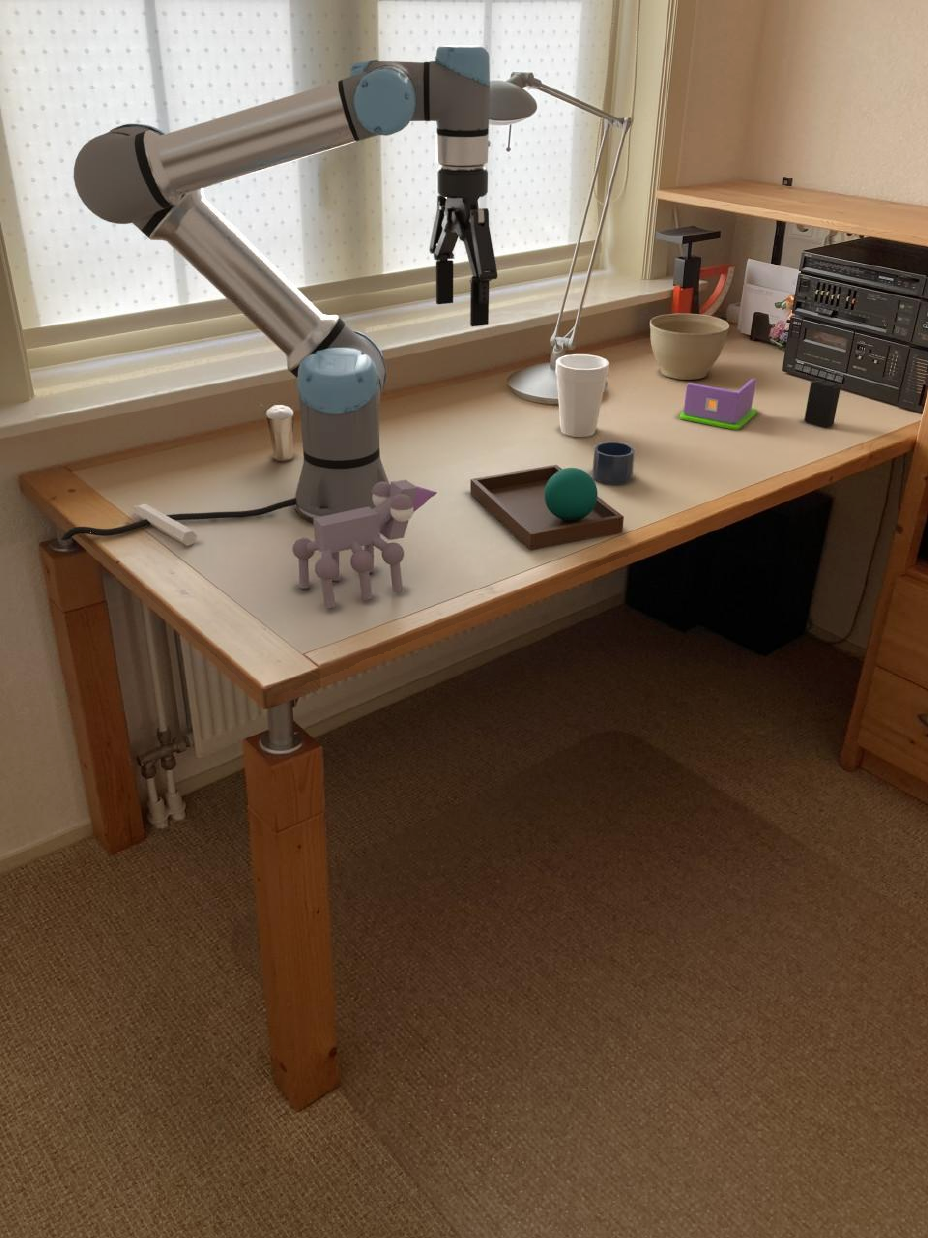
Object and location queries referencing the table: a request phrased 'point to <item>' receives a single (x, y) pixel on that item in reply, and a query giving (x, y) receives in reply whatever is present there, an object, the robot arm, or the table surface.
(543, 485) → the tray
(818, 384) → the ink cartridge
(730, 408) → the toy room diorama
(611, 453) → the cup
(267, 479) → the table surface
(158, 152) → the robot arm
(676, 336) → the planter bowl
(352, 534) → the toy sheep
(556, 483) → the ball
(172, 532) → the marker
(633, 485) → the table surface
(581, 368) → the foam cup
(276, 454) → the milkshake
